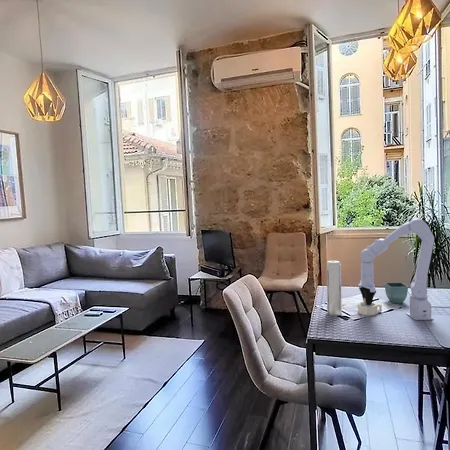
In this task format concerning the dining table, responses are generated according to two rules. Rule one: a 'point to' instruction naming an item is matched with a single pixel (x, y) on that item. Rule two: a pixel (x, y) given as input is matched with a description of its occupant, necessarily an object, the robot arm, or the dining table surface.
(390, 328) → the dining table surface
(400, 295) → the flower pot
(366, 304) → the plunger
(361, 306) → the press carafe
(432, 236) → the robot arm
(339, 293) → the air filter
